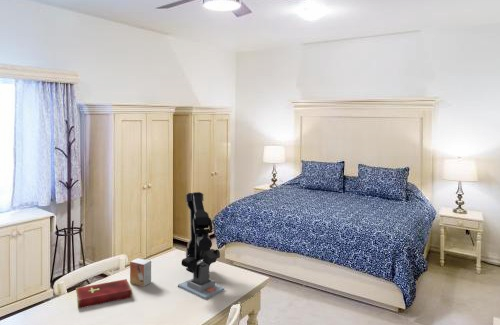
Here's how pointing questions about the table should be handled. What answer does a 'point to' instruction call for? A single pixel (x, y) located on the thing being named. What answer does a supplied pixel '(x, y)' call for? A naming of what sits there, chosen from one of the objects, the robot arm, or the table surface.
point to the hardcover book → (103, 293)
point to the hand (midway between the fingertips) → (201, 276)
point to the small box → (140, 272)
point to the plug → (202, 273)
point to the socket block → (202, 288)
